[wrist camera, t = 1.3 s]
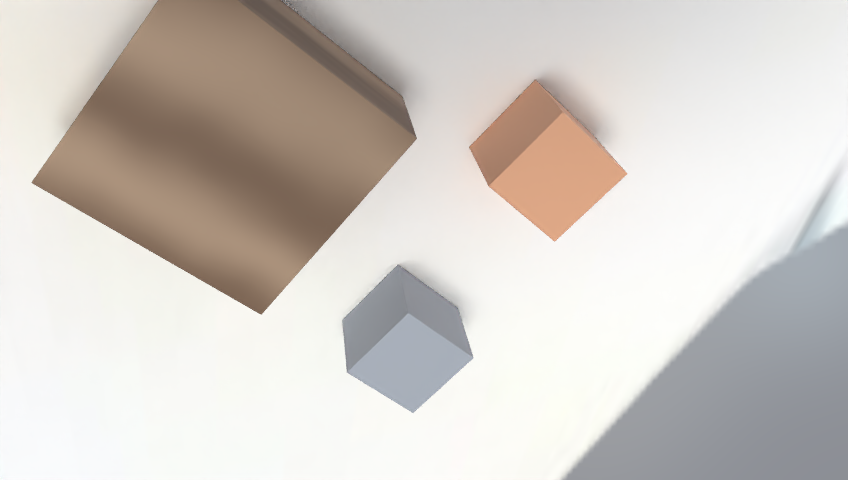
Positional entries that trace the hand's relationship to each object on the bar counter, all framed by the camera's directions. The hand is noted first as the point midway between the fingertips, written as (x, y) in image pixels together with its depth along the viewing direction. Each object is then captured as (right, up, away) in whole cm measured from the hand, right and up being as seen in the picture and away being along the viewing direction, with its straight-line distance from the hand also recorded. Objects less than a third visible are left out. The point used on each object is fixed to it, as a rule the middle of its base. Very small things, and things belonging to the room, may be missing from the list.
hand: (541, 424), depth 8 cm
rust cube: (+5, +7, +34) cm, 35 cm away
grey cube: (-3, -3, +38) cm, 38 cm away
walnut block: (-11, +8, +31) cm, 34 cm away
